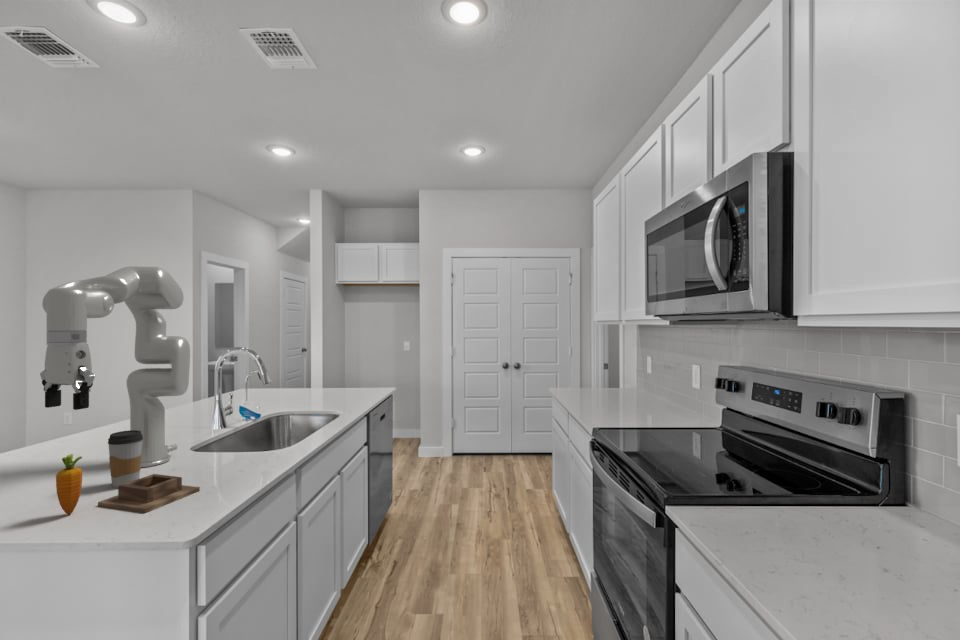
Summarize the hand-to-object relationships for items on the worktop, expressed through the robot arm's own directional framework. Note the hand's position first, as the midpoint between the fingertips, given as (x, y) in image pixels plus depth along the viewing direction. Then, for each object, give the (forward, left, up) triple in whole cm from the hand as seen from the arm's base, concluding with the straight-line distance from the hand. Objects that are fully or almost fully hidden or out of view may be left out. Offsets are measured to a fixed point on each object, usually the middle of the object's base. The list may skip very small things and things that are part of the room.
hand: (66, 407), depth 117 cm
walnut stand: (-14, +9, -27) cm, 31 cm away
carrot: (0, 0, -27) cm, 27 cm away
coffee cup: (-20, -8, -27) cm, 34 cm away
